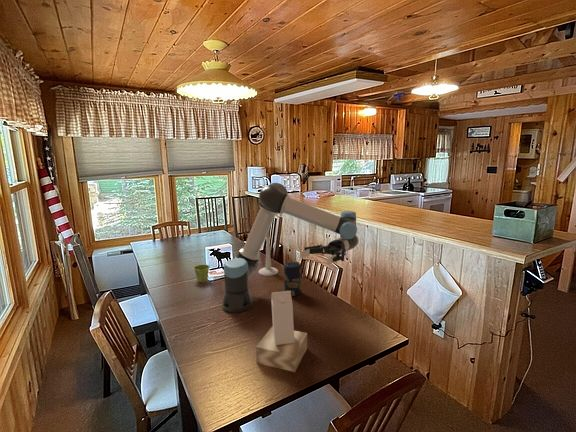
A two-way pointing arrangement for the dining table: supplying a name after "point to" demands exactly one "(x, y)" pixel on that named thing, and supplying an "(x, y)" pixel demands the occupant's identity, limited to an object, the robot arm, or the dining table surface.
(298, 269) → the canister
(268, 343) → the block
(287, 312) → the milk carton
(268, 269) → the candlestick
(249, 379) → the dining table surface
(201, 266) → the plant pot
